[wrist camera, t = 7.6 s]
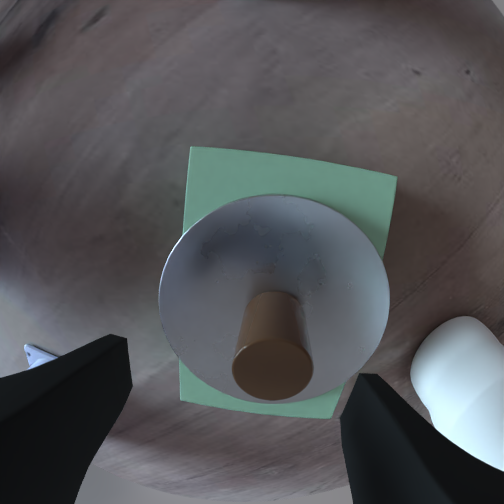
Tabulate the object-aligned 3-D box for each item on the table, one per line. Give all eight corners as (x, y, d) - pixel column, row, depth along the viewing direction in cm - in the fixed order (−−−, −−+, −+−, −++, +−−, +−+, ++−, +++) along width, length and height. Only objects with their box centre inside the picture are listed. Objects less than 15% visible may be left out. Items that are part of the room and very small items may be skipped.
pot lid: (351, 400, 15) (366, 461, 11) (166, 377, 16) (136, 434, 11) (407, 214, 12) (463, 237, 8) (169, 180, 13) (116, 187, 8)
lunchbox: (330, 386, 19) (337, 419, 16) (187, 368, 19) (173, 399, 16) (381, 176, 15) (405, 178, 12) (200, 150, 16) (181, 145, 12)
